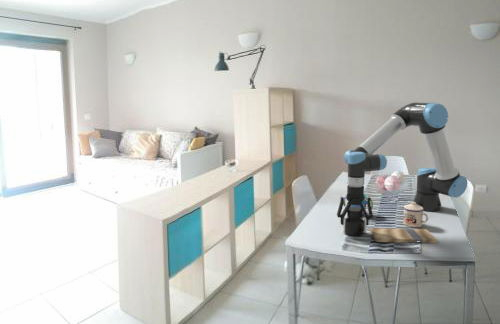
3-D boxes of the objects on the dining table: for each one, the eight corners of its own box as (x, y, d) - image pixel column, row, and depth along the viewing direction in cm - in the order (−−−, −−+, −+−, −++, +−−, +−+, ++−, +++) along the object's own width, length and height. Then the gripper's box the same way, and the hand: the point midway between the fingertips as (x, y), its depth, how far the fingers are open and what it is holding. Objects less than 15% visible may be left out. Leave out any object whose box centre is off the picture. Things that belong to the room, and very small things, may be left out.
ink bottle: (360, 229, 181) (361, 205, 179) (367, 236, 172) (368, 211, 170) (341, 230, 181) (341, 206, 178) (346, 237, 172) (347, 212, 170)
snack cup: (340, 214, 204) (341, 196, 202) (347, 209, 213) (347, 191, 211) (368, 219, 195) (369, 200, 193) (374, 213, 204) (375, 195, 202)
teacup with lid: (399, 224, 187) (400, 202, 185) (408, 220, 192) (409, 198, 190) (422, 230, 178) (424, 207, 175) (431, 226, 183) (433, 203, 181)
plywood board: (426, 232, 176) (426, 229, 176) (436, 243, 163) (437, 239, 163) (369, 231, 179) (370, 228, 178) (376, 241, 166) (376, 238, 166)
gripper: (332, 187, 169) (331, 233, 174) (381, 187, 167) (379, 234, 171) (331, 183, 177) (330, 228, 181) (377, 183, 175) (375, 228, 179)
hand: (354, 231), depth 176 cm, fingers closed on ink bottle, 9 cm apart
